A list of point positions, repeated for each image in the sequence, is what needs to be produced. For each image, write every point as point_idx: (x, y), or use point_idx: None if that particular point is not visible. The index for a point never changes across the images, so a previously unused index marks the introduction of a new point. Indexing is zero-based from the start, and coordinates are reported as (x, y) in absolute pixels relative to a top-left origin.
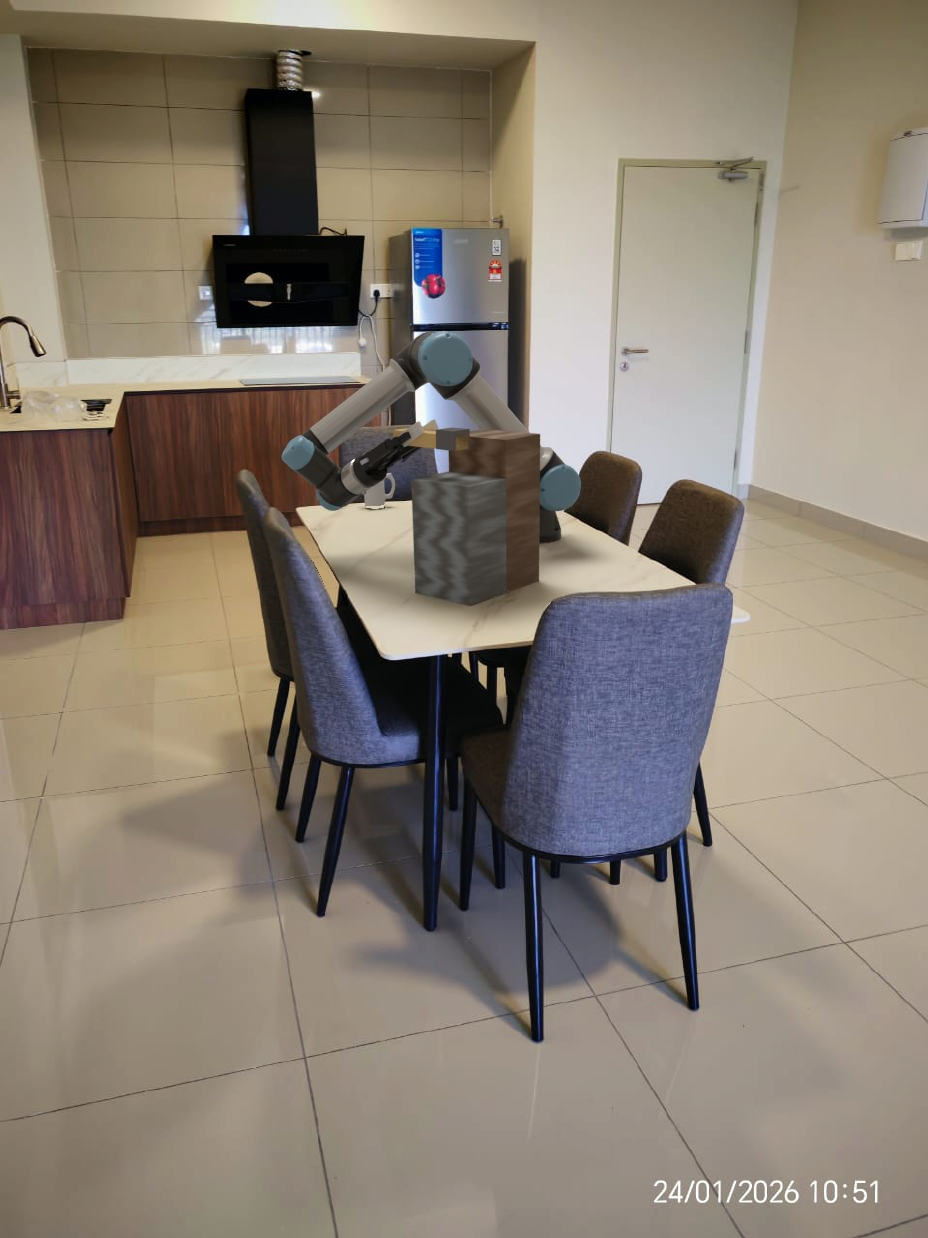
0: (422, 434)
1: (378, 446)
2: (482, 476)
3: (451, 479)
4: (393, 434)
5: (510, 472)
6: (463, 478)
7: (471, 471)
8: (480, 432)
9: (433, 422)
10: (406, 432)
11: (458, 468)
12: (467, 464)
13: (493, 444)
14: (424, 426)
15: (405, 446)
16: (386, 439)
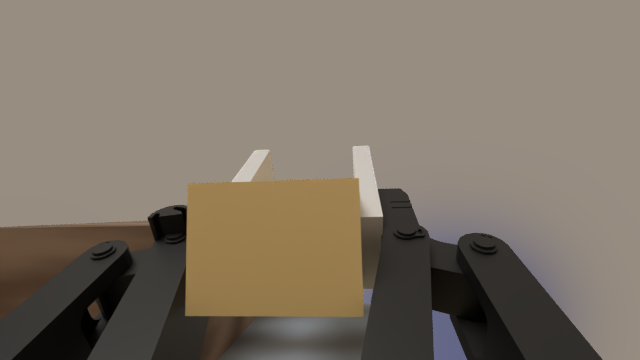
0: None
1: (577, 342)
2: (262, 323)
3: (346, 338)
4: (360, 221)
5: None
6: (314, 331)
7: (234, 332)
8: (111, 224)
9: (271, 162)
10: (394, 192)
11: (212, 350)
12: (228, 316)
13: None
14: (255, 177)
15: (364, 288)
16: (494, 243)
